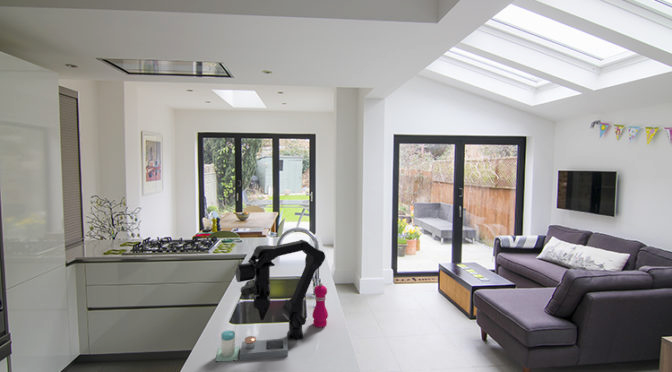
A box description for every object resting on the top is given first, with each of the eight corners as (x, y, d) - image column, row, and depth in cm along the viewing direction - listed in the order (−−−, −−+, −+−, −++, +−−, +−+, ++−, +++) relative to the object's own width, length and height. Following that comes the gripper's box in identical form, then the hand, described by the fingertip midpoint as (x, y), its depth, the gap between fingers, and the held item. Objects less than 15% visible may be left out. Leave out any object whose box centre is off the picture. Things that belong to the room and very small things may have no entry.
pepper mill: (310, 322, 166) (310, 280, 164) (324, 319, 169) (325, 279, 167) (315, 329, 159) (316, 286, 158) (330, 326, 162) (331, 284, 161)
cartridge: (218, 355, 136) (218, 335, 135) (227, 348, 141) (227, 329, 140) (228, 358, 134) (229, 338, 134) (237, 351, 139) (237, 332, 138)
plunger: (245, 350, 141) (244, 336, 140) (256, 349, 142) (256, 335, 141) (244, 356, 136) (244, 342, 136) (255, 355, 137) (255, 341, 137)
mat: (219, 349, 141) (219, 348, 141) (239, 347, 143) (239, 346, 143) (215, 362, 132) (215, 360, 132) (237, 360, 134) (237, 359, 134)
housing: (242, 347, 143) (242, 341, 143) (286, 344, 146) (286, 338, 146) (240, 360, 134) (240, 353, 134) (287, 356, 137) (287, 350, 137)
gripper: (243, 270, 150) (243, 306, 151) (239, 286, 132) (239, 327, 133) (270, 269, 152) (270, 304, 153) (270, 285, 134) (269, 325, 135)
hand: (262, 314), depth 144 cm, fingers open, 9 cm apart
